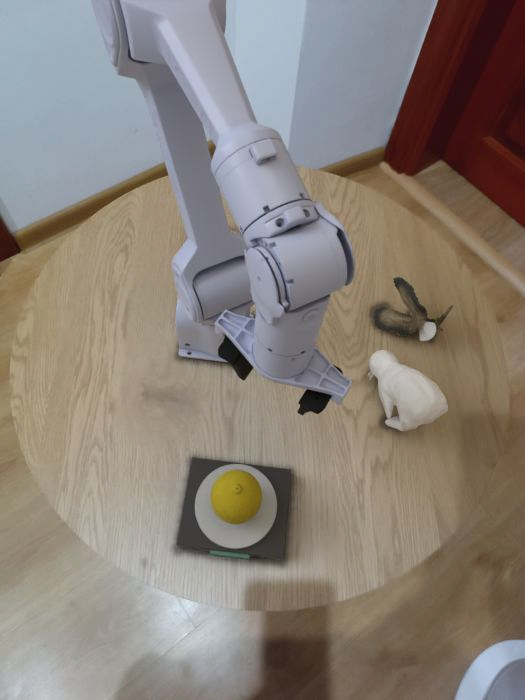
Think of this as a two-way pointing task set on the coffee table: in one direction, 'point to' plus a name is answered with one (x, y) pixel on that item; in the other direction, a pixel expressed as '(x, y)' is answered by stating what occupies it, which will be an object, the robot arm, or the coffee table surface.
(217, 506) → the lemon
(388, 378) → the white crouching figurine
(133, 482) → the coffee table surface
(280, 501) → the scale
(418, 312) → the eagle figurine
